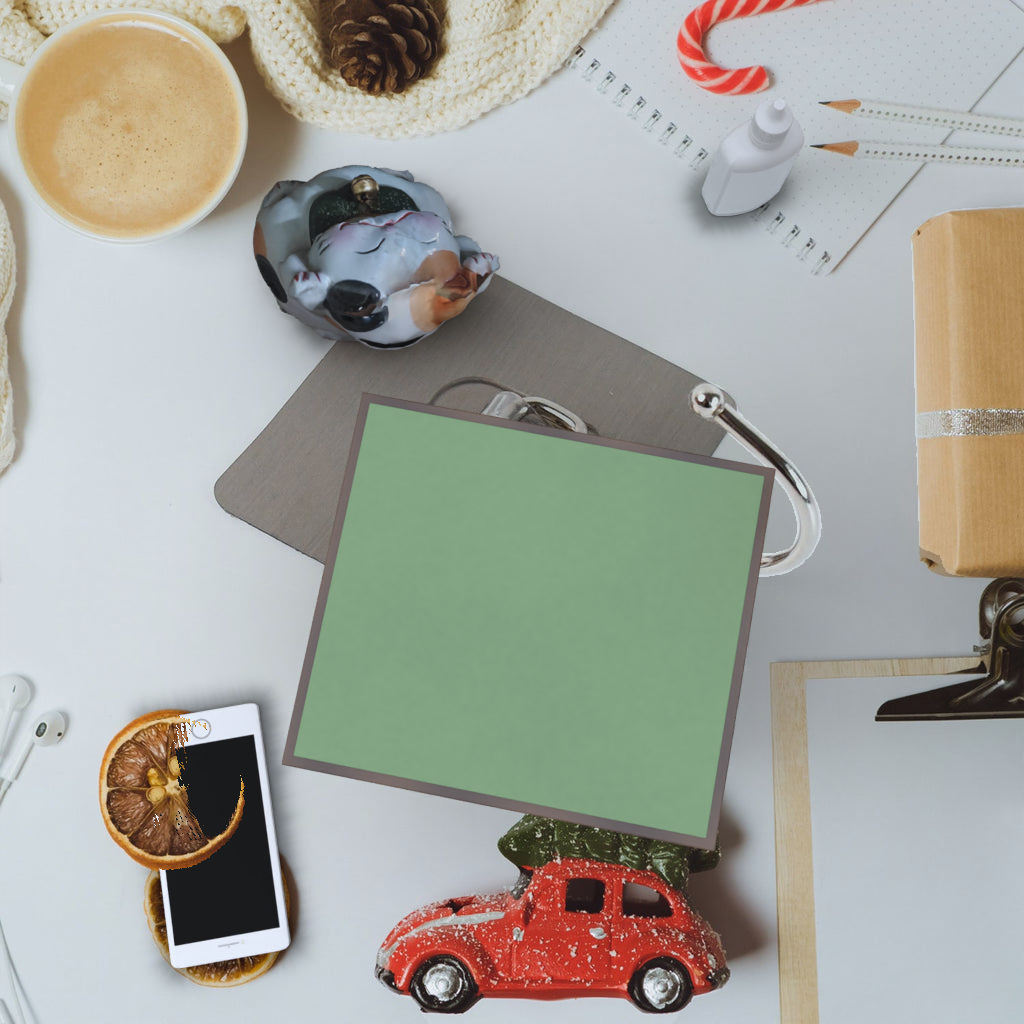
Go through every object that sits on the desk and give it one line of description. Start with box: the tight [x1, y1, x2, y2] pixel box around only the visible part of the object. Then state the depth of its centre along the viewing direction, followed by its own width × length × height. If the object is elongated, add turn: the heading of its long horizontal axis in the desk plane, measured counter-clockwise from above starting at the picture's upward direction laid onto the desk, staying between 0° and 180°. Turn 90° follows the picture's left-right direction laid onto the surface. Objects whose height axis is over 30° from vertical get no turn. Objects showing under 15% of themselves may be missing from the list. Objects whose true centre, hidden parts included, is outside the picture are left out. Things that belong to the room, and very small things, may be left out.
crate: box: [281, 391, 777, 852], centre depth 57 cm, size 18×16×28 cm
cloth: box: [294, 403, 764, 838], centre depth 43 cm, size 17×15×1 cm
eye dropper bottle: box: [701, 98, 805, 217], centre depth 69 cm, size 4×6×12 cm
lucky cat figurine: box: [252, 164, 501, 351], centre depth 69 cm, size 15×12×14 cm
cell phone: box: [152, 702, 292, 969], centre depth 69 cm, size 8×16×1 cm, turn 10°
